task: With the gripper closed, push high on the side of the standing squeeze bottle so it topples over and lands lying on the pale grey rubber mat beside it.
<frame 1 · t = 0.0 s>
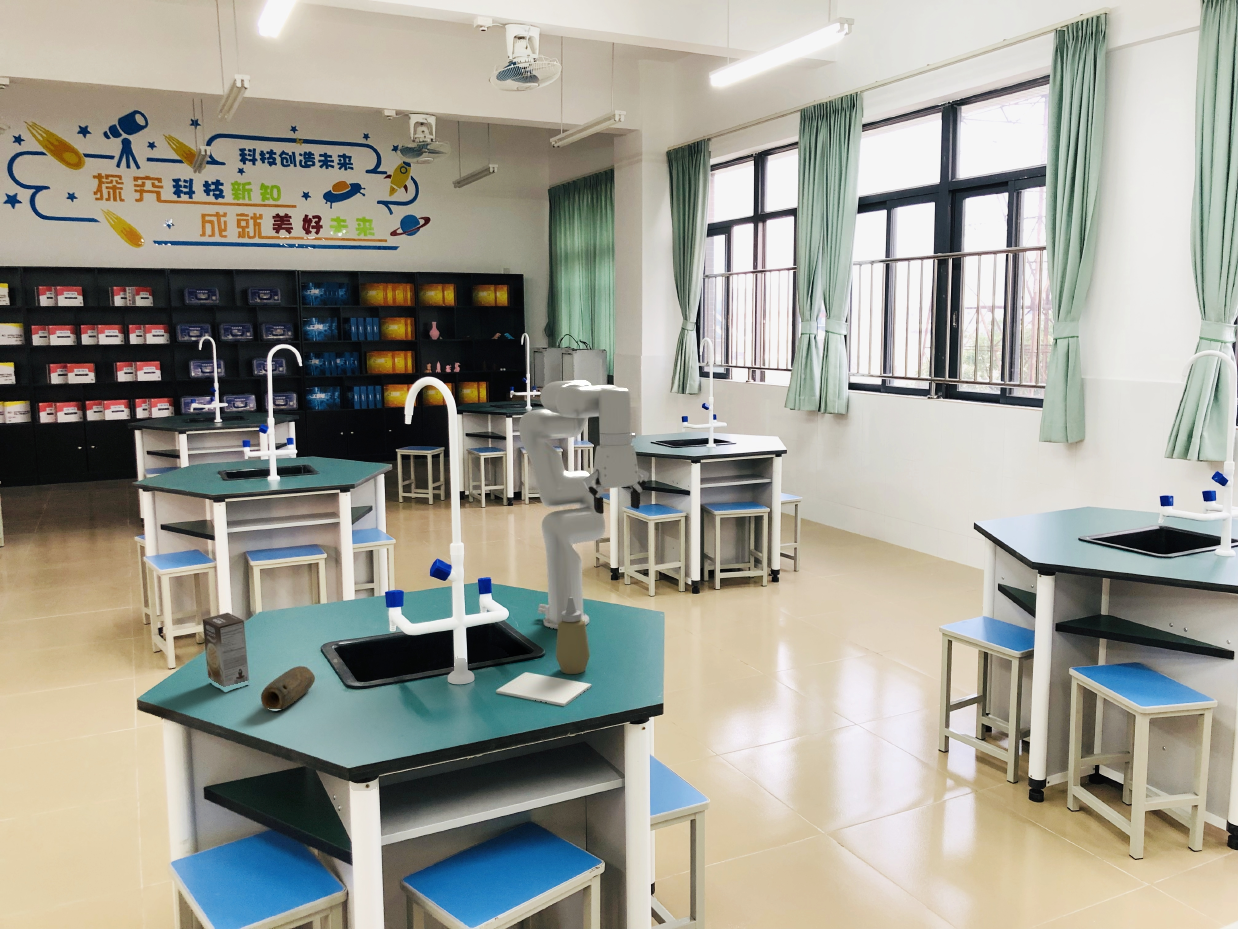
hand: (617, 510, 227), 37 cm above the lab bench, tool pointing down, fingers open, 9 cm apart
brown hollow cylinder: (290, 702, 212), on the lab bench
mat: (544, 689, 215), on the lab bench
coffee box: (229, 685, 223), on the lab bench
squeeze bottle: (573, 671, 226), on the lab bench
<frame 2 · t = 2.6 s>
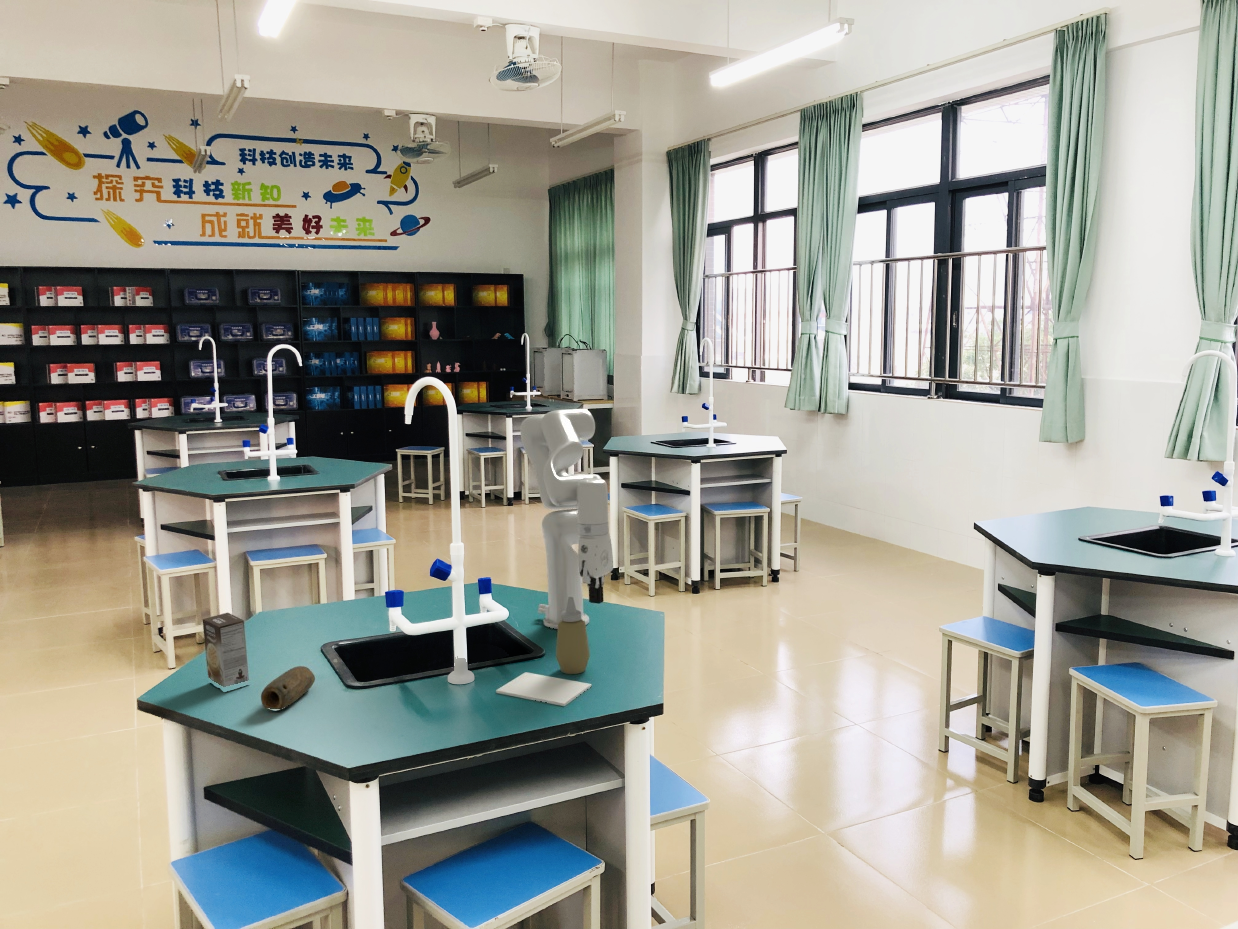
hand: (596, 602, 233), 14 cm above the lab bench, tool pointing down, fingers closed
nothing on the lab bench moved.
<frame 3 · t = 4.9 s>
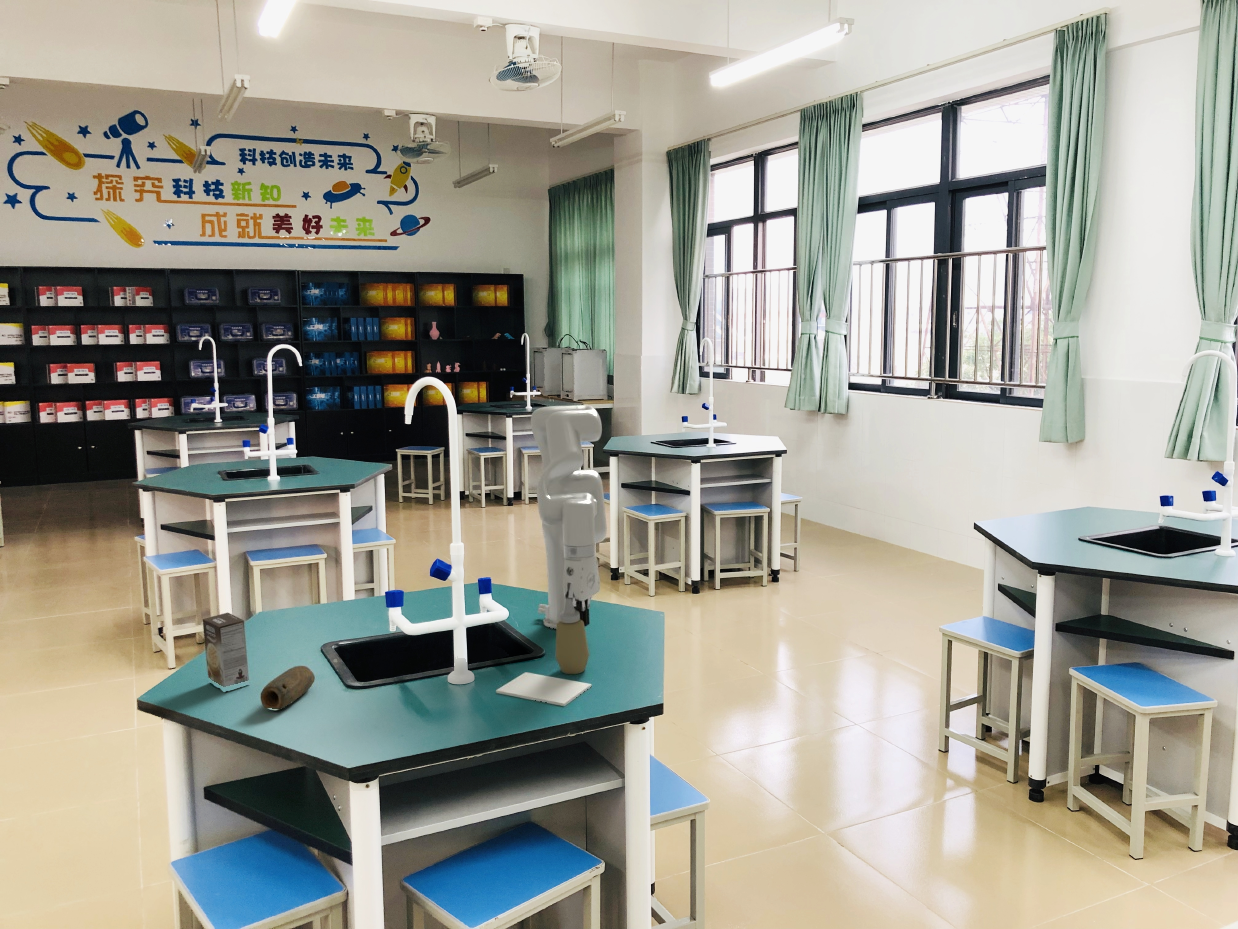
hand: (582, 624, 228), 10 cm above the lab bench, tool pointing down, fingers closed
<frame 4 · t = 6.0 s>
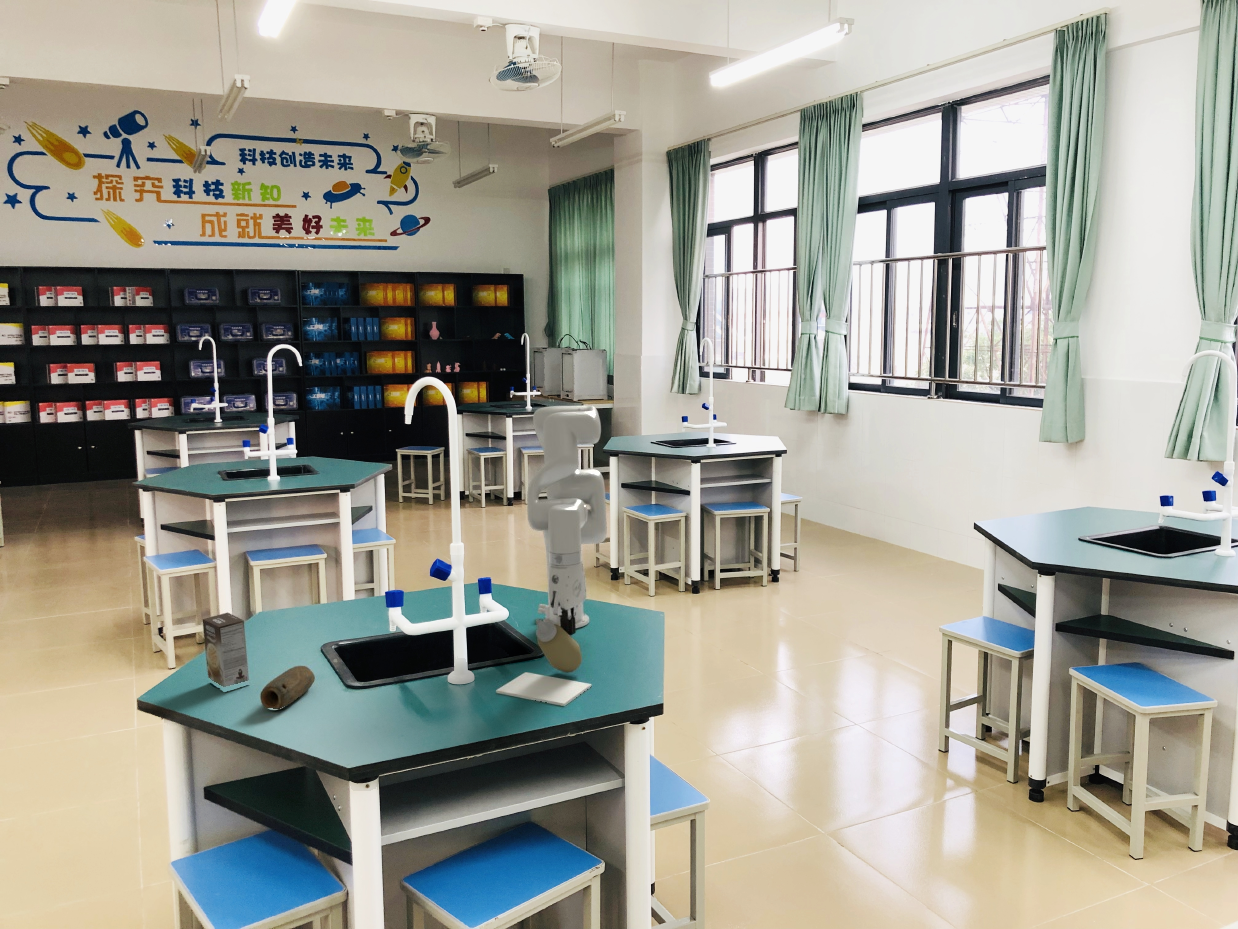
hand: (568, 633, 223), 10 cm above the lab bench, tool pointing down, fingers closed
squeeze bottle: (571, 663, 225), point 2 cm above the lab bench
everything else where it was.
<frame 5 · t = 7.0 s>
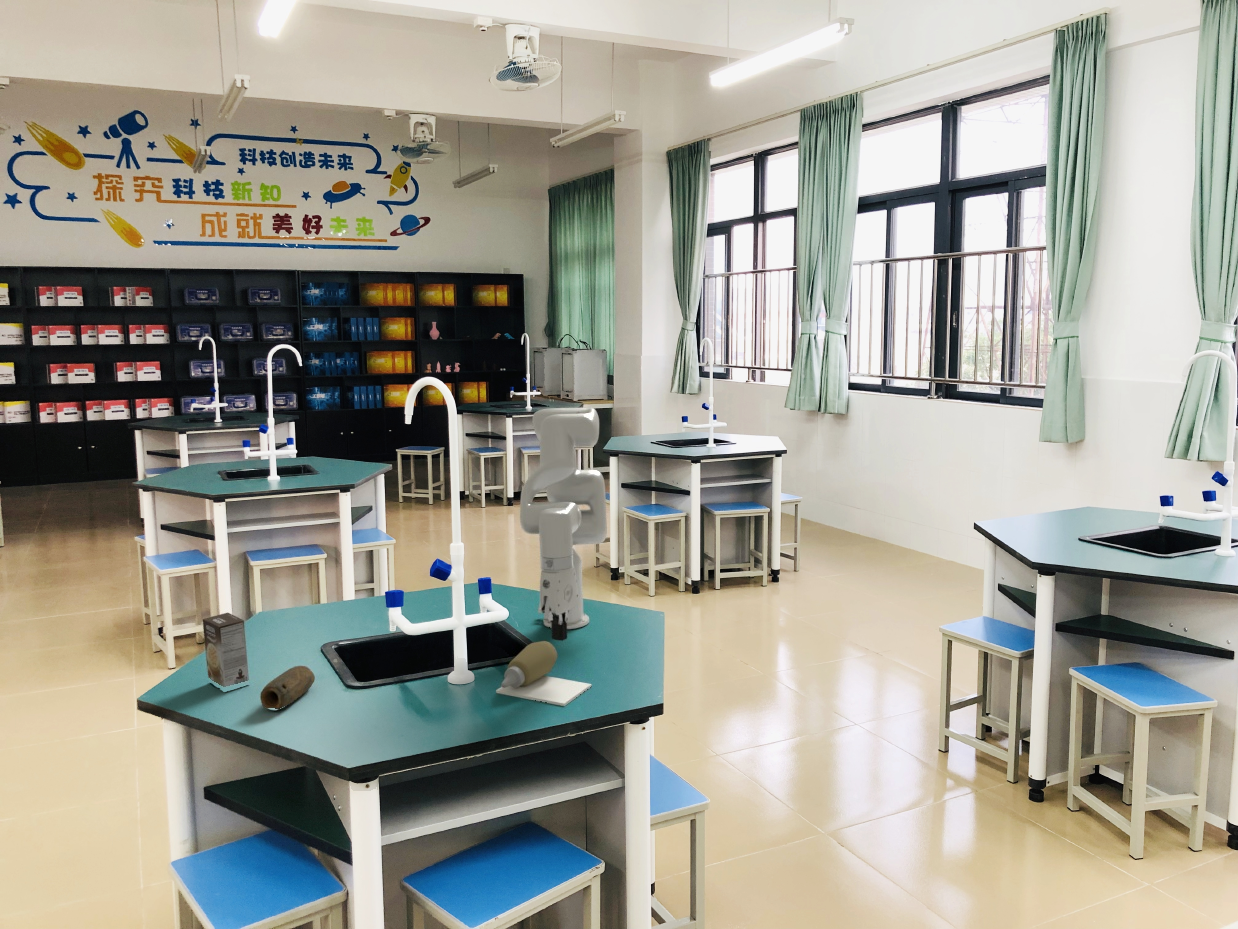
hand: (559, 638, 219), 10 cm above the lab bench, tool pointing down, fingers closed
squeeze bottle: (547, 652, 224), point 5 cm above the lab bench, touching mat
everything else where it was.
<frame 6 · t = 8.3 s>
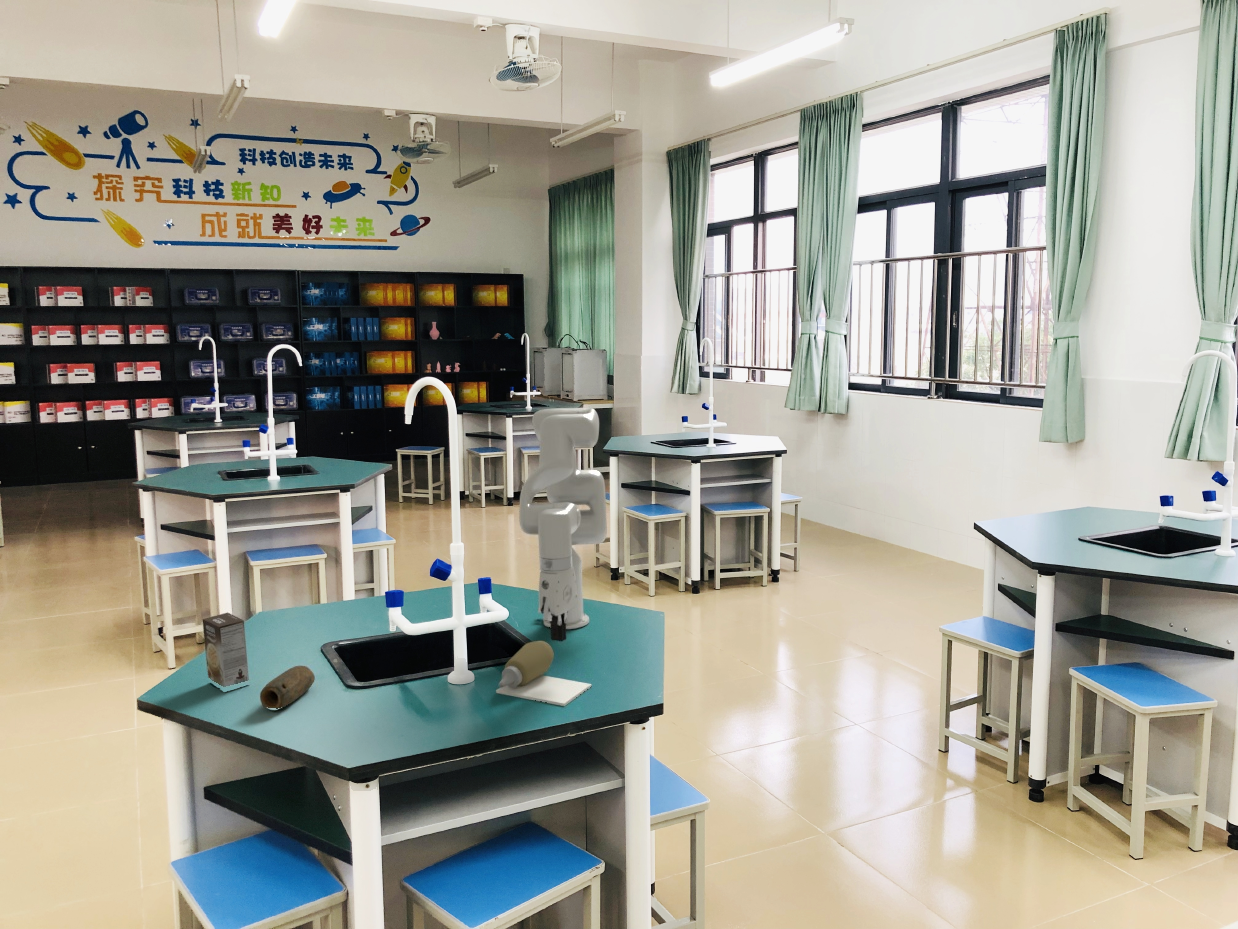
hand: (558, 639, 219), 10 cm above the lab bench, tool pointing down, fingers closed
squeeze bottle: (544, 651, 225), point 5 cm above the lab bench, touching mat
everything else where it was.
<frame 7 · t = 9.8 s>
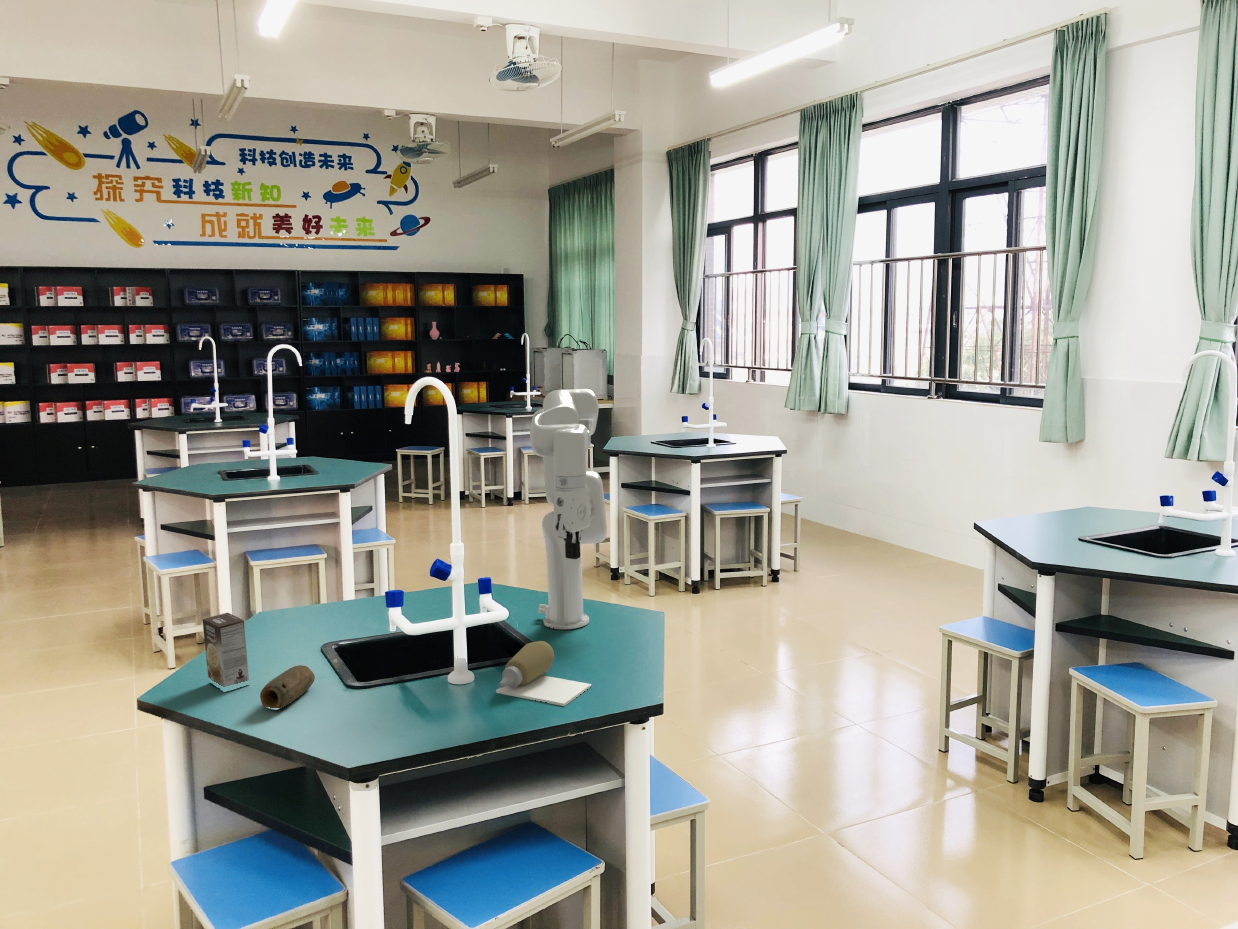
hand: (573, 557, 223), 27 cm above the lab bench, tool pointing down, fingers closed
nothing on the lab bench moved.
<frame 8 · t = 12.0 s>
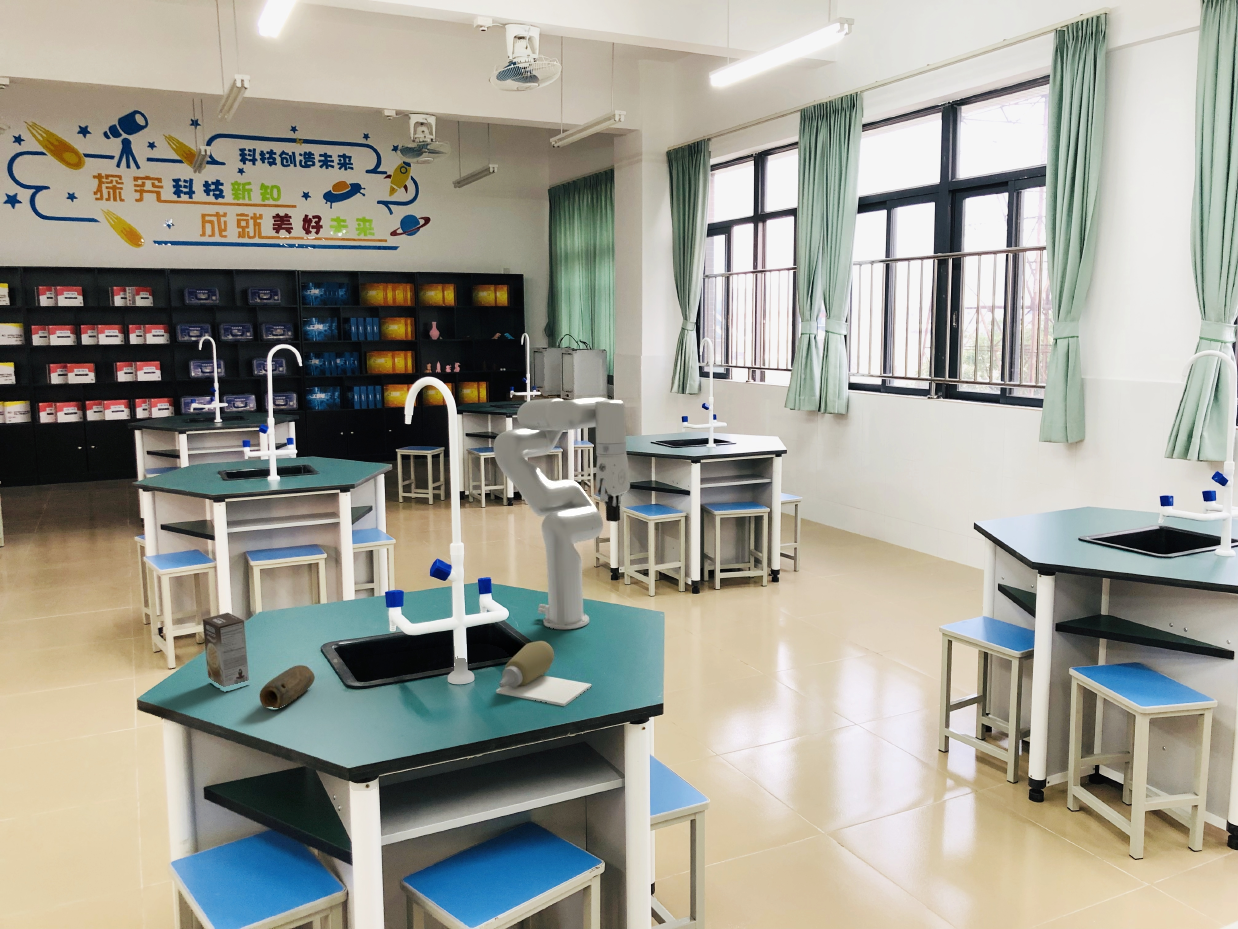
hand: (613, 520, 240), 32 cm above the lab bench, tool pointing down, fingers closed
nothing on the lab bench moved.
at the end: squeeze bottle tilted 95°; squeeze bottle inside the target area (11.7 cm from its centre), point 4.9 cm above the lab bench; squeeze bottle moved 8.3 cm from its start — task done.
